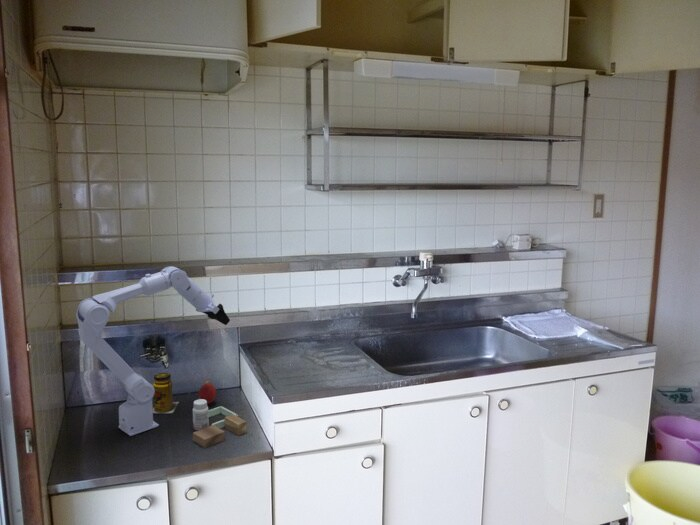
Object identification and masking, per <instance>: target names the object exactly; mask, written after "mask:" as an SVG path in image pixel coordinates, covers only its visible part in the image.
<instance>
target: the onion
mask: <svg viewBox="0 0 700 525" xmlns="http://www.w3.org/2000/svg"><path fill="white" fill-rule="evenodd" d="M216 397H217V389H216V387H215V386H214V385H213V384H211V382H210V381H209V380H207V381H206V382H205V383H204V384H203V385H201V387H200V388H199V391H198V399H205V400H206V401H207V405H208V404H211V403H212V402H213V401H214V400H215V399H216Z"/></svg>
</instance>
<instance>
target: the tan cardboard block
mask: <svg viewBox="0 0 700 525" xmlns="http://www.w3.org/2000/svg"><path fill="white" fill-rule="evenodd" d="M225 440H226V431H225V430H223V429H222V428H220V429H219V428H218V427H216V426H214V425H212V424H211V425H209V427H206V428H204V429H201V430H196V431H194V432H192V441H193V442H194V443H196V444H197V445H199V446H200V447H202V448H203V449H207V448H209V447H211V446H214V445H216V444H219V443H221V442H223V441H225Z"/></svg>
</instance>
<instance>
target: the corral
mask: <svg viewBox="0 0 700 525" xmlns="http://www.w3.org/2000/svg"><path fill="white" fill-rule="evenodd" d="M220 414H222V415H224V417H227V416H229V415H232V414H233V415H235V416H237V417H239V416H240V415H239V414H238V413H235V412H233V410H232V411H231V410H229V409H228V408H226V407H224V406H223V405H221V406H218V407H214V408H211V409H208V415H209V418H212V417H214V416H216V415H220ZM239 418H240V417H239ZM212 425H214V426H216V427H218V428H219V429H222V428H225V418H224V419H222V420H219V421H218V420H217V421H216V422H213V423H211V426H212Z"/></svg>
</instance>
